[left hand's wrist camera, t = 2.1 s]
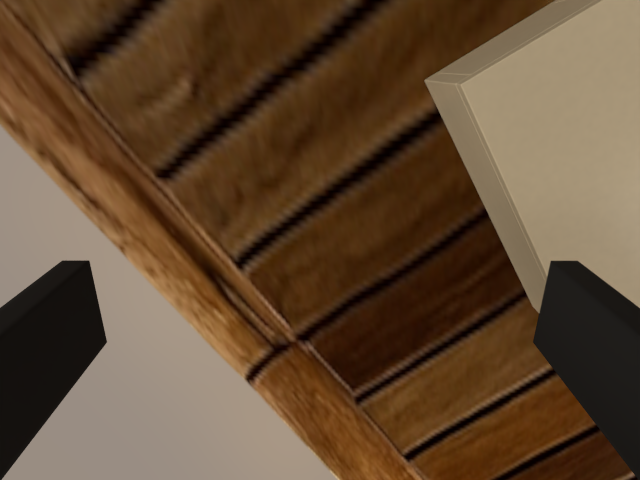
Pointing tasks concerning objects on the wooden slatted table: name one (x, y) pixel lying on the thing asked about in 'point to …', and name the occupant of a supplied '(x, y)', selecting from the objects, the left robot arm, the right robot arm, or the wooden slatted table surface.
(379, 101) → the wooden slatted table surface
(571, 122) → the cabinet
